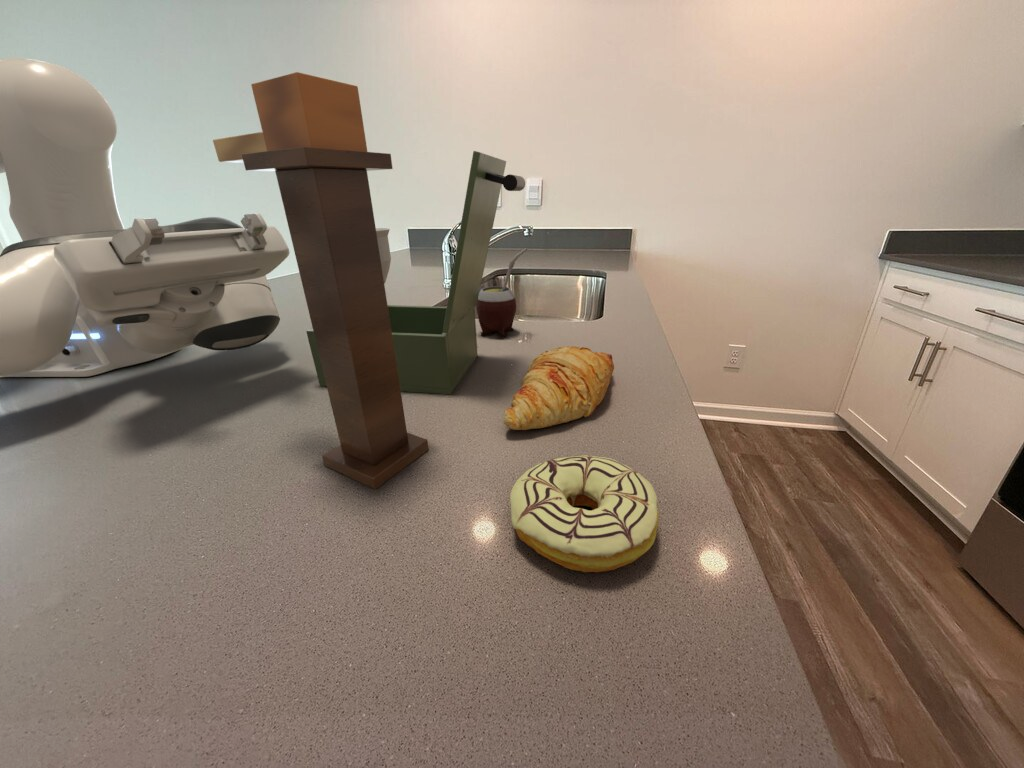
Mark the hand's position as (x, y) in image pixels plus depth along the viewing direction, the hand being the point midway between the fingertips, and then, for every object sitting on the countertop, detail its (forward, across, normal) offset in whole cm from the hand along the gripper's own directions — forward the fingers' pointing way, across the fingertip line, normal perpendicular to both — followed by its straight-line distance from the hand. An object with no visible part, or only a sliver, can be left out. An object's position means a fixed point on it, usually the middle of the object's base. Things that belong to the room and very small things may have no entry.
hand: (208, 222), depth 40 cm
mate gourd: (-3, -39, -22) cm, 45 cm away
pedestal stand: (+6, 0, -28) cm, 28 cm away
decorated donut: (+23, -2, -38) cm, 45 cm away
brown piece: (+15, 0, -3) cm, 15 cm away
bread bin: (-6, -18, -21) cm, 28 cm away
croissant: (+15, -20, -33) cm, 41 cm away
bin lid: (+12, -21, -11) cm, 27 cm away
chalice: (-20, -29, -13) cm, 37 cm away
